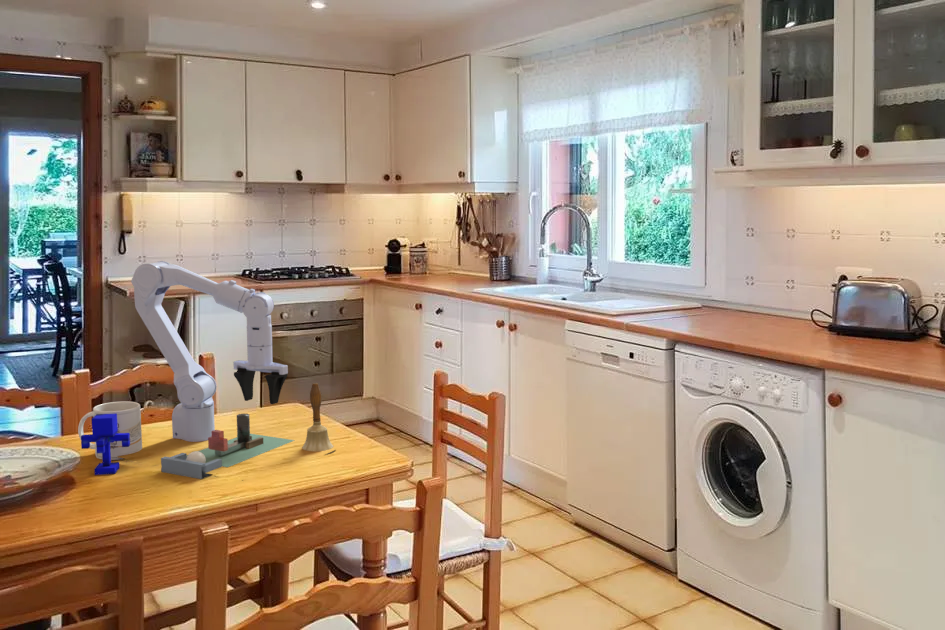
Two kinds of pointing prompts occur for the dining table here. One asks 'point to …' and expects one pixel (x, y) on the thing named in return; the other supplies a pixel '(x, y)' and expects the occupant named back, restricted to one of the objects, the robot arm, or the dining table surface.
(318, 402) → the hand bell
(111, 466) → the figurine
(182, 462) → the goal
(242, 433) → the kicker rod
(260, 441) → the rail guides
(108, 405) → the mug
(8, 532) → the dining table surface
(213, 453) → the mat
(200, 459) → the ball
